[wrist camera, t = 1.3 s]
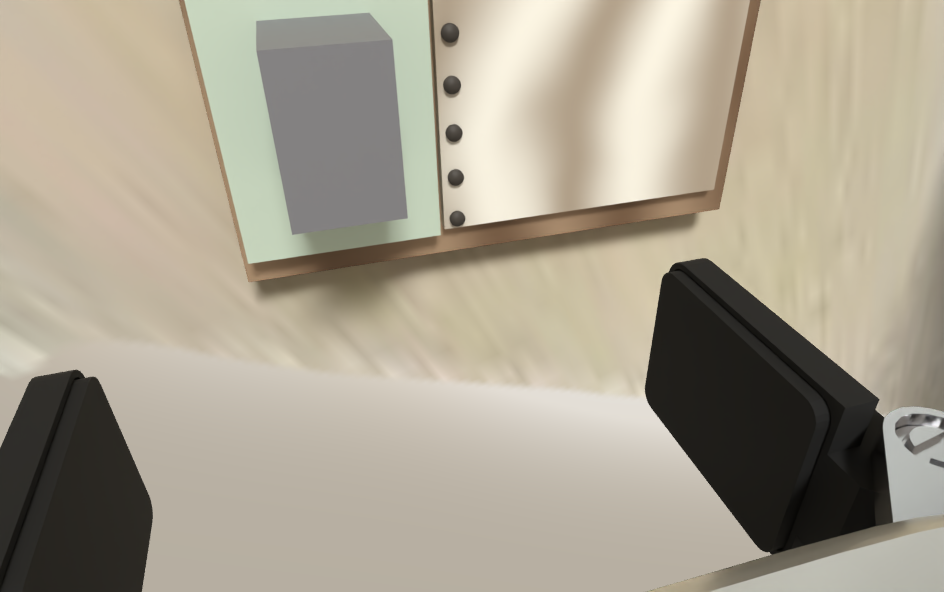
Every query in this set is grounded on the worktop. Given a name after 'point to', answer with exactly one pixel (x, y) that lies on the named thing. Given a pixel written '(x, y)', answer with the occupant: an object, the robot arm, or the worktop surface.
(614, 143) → the ticket board
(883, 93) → the worktop surface
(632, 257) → the worktop surface
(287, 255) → the stub
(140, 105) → the worktop surface
